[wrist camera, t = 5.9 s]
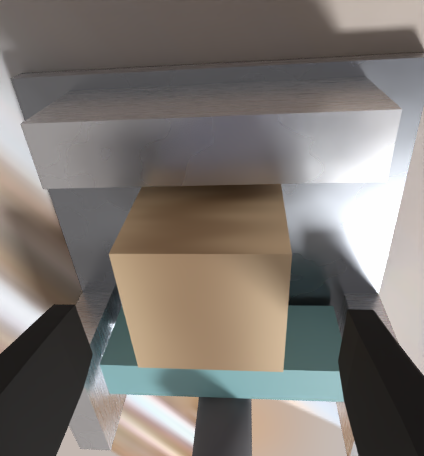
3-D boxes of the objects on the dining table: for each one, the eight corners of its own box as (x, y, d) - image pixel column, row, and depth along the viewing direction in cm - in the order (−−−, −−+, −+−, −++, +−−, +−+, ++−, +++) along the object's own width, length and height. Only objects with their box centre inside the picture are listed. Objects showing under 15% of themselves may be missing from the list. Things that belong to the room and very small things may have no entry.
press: (425, 52, 13) (521, 95, 8) (349, 389, 23) (373, 489, 18) (22, 73, 14) (-82, 120, 10) (120, 382, 24) (92, 473, 20)
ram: (333, 305, 18) (366, 437, 13) (323, 366, 20) (349, 496, 15) (122, 303, 19) (77, 424, 14) (137, 361, 21) (103, 481, 16)
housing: (276, 154, 14) (292, 254, 9) (272, 251, 17) (283, 371, 12) (156, 157, 15) (108, 254, 10) (170, 251, 17) (138, 367, 12)
